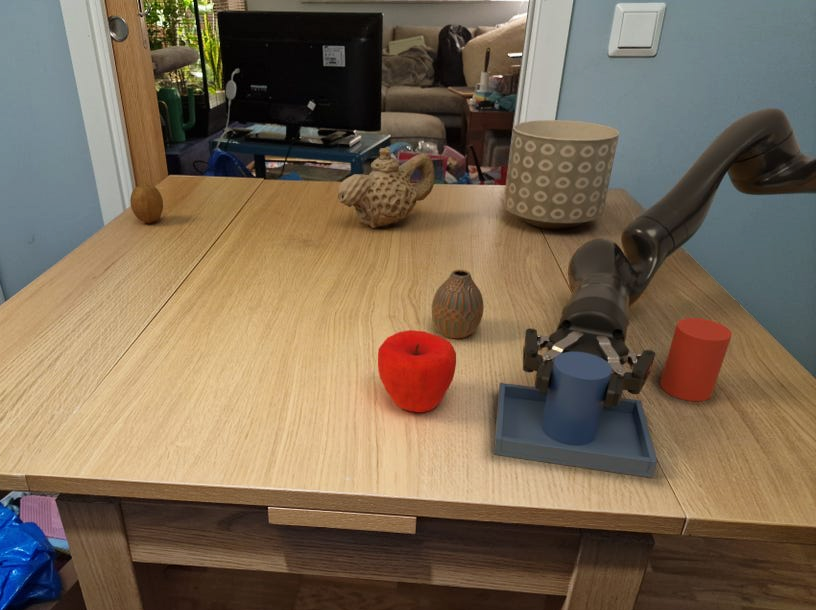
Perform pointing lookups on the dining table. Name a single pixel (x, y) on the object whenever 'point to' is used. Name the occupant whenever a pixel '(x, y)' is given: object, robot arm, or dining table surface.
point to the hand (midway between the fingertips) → (575, 393)
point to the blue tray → (610, 451)
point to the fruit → (146, 203)
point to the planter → (559, 172)
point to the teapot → (387, 189)
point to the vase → (457, 306)
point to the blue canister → (576, 397)
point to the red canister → (695, 359)
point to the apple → (416, 369)
